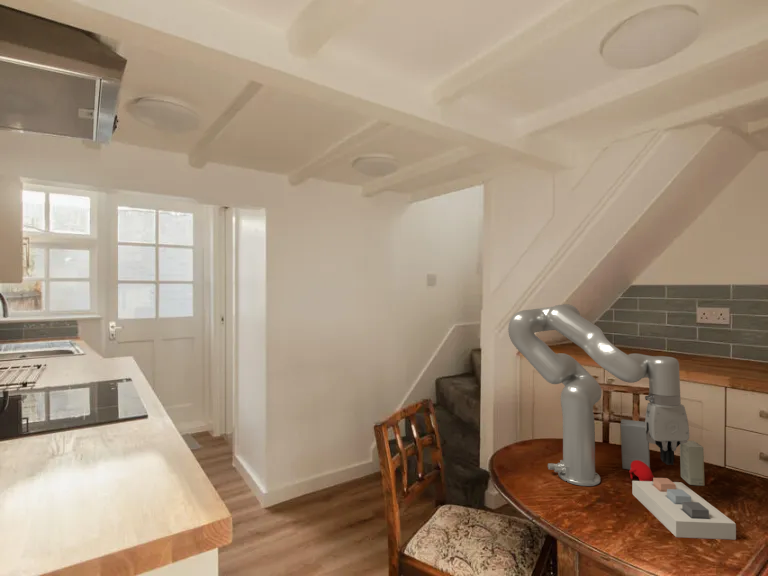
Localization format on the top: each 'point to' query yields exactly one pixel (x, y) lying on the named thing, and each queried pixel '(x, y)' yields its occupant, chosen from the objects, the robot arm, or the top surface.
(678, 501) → the slate button
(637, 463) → the cap
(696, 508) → the charcoal button
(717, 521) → the button panel
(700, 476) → the skincare box
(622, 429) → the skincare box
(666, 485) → the terracotta button
